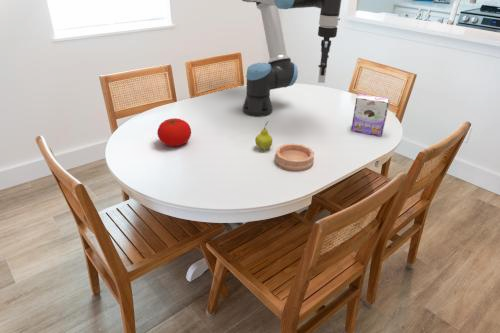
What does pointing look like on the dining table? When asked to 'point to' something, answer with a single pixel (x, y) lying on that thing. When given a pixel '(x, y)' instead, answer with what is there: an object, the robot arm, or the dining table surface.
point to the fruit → (263, 139)
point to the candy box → (370, 114)
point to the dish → (294, 157)
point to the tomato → (174, 132)
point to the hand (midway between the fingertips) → (321, 77)
